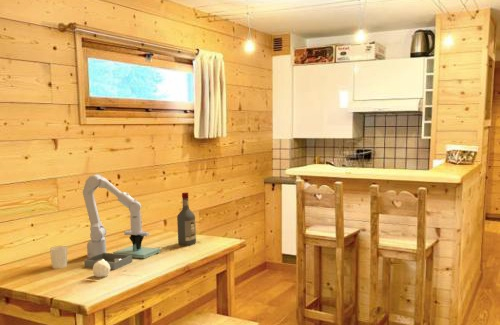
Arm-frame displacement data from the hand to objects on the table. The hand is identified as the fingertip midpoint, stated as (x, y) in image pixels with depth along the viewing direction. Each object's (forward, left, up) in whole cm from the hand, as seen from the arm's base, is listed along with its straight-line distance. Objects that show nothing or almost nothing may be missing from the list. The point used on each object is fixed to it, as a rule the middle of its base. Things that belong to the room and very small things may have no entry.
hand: (137, 248), depth 248 cm
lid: (0, 0, -3) cm, 3 cm away
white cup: (-24, -31, -3) cm, 39 cm away
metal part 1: (-6, -22, -3) cm, 23 cm away
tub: (-2, -21, -3) cm, 21 cm away
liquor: (+14, +29, -3) cm, 32 cm away
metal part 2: (+2, -19, -3) cm, 19 cm away
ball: (+7, -37, -3) cm, 38 cm away
